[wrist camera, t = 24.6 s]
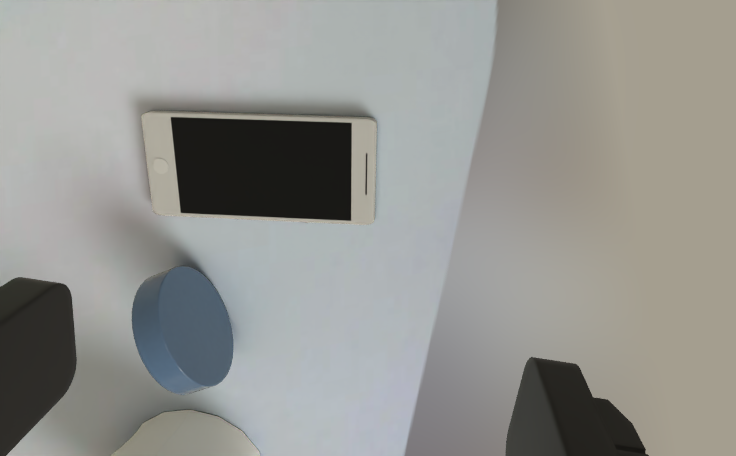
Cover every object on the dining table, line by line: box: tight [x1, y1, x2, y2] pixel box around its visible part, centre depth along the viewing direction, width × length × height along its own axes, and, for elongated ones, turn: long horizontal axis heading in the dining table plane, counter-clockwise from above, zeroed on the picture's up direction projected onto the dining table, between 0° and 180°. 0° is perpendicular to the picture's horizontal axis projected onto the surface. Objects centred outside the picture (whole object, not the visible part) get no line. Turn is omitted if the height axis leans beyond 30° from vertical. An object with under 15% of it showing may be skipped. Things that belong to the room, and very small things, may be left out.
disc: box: [132, 266, 233, 395], centre depth 38 cm, size 2×8×8 cm
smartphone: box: [141, 111, 377, 225], centre depth 37 cm, size 7×16×1 cm, turn 89°
